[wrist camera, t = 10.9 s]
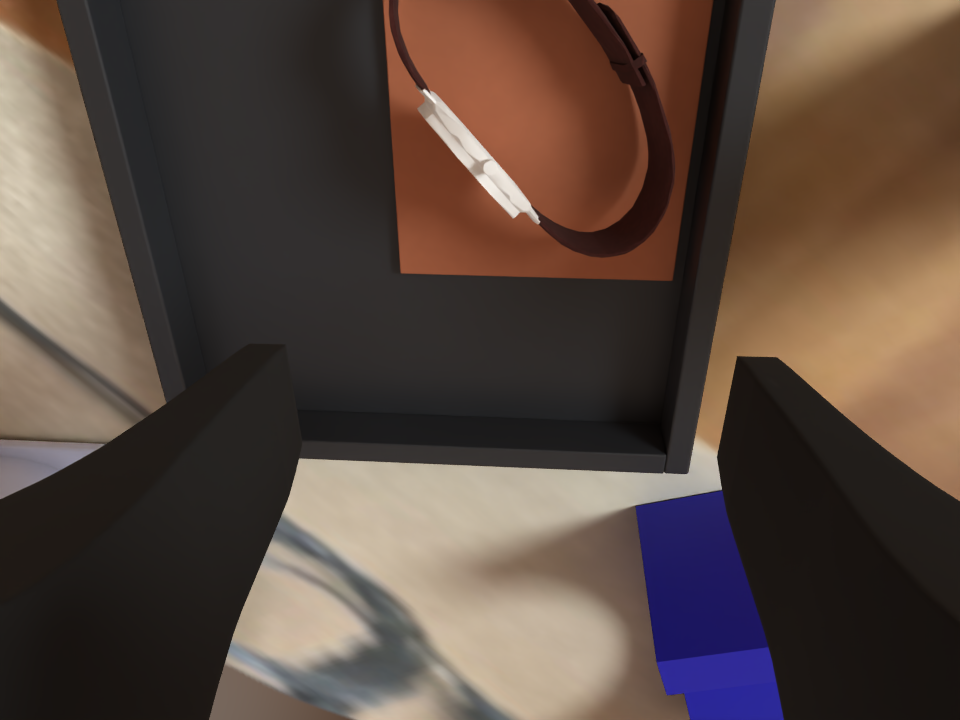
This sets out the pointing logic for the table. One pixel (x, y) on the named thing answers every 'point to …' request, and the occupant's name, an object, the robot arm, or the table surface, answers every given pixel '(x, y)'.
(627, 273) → the corner pad
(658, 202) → the watch
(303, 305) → the tray
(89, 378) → the table surface
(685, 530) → the blue u-shaped bracket
